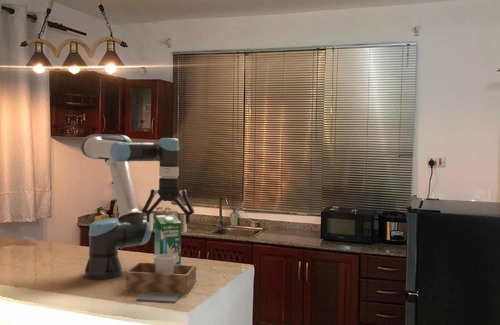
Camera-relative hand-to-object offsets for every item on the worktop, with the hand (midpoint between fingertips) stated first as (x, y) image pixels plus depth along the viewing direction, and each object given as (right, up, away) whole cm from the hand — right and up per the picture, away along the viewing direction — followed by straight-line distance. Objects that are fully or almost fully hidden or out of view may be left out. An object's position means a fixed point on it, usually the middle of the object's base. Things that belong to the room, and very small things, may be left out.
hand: (168, 231), depth 174 cm
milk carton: (-4, -21, +17) cm, 27 cm away
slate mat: (-1, -22, -13) cm, 26 cm away
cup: (-1, -22, 0) cm, 22 cm away
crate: (-2, -22, 0) cm, 22 cm away
